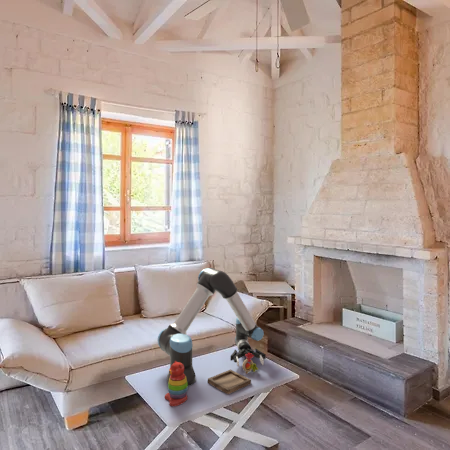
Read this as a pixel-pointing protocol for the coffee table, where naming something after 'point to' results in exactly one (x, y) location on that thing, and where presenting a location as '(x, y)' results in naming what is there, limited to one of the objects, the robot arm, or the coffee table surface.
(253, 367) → the bird rattle
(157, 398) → the coffee table surface
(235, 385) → the walnut plate
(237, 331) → the robot arm
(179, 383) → the stacking bear
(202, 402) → the coffee table surface
